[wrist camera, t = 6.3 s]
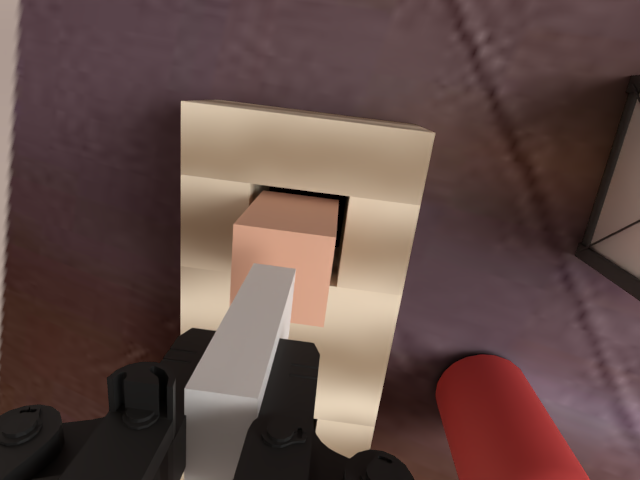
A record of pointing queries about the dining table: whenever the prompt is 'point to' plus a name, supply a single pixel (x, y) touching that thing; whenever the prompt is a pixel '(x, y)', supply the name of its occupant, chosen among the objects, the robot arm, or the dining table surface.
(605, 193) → the lantern
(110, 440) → the robot arm
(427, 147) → the birch block
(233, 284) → the terracotta peg
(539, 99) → the dining table surface
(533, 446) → the beer can
